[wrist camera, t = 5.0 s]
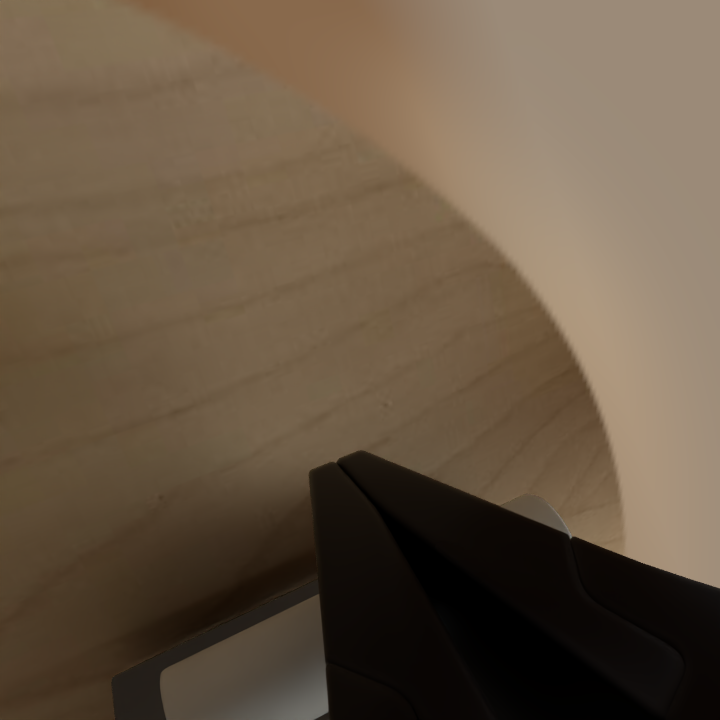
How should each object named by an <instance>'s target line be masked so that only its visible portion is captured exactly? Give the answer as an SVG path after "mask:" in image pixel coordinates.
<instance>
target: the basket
mask: <svg viewBox="0 0 720 720" xmlns="http://www.w3.org/2000/svg"><path fill="white" fill-rule="evenodd" d="M501 507H503V508H505V509H508V510H510V511H513V512H515V513H518V514H520V515H523V516H525V517H527V518H530V519H532V520H535V521H537V522H540V523H542V524H545V525H547V526H550V527H552V528H554V529H557V530H559V531H562V532H564V533H567V534H568V535H569V537H570V539H571V538H572V536H571V533H570V531H569V529H568V528H567V526H566V524H565V523H564V521H563V520H562V518H561V517H560V515H559V514H558V513H557V512H556V510H555V509H554V508H553V507H552V506H551V505H550V504H549V503H548V502H546V501H545V500H544V499H542V498H541V497H539V496H537V495H534V494H524V495H521V496H519V497H517V498H515V499H513V500H511V501H509V502H507V503H505V504H503V505H501ZM325 668H326V664H325V656H324V645H323V633H322V622H321V610H320V599H319V587H318V579H317V580H315V581H313V582H310V583H308V584H306V585H304V586H302V587H300V588H298V589H296V590H294V591H292V592H289V593H287V594H285V595H283V596H281V597H279V598H277V599H275V600H273V601H271V602H268V603H266V604H264V605H262V606H260V607H258V608H256V609H254V610H252V611H250V612H248V613H245V614H243V615H241V616H239V617H237V618H235V619H233V620H231V621H229V622H227V623H224V624H222V625H220V626H218V627H216V628H214V629H212V630H210V631H208V632H206V633H203V634H201V635H199V636H197V637H195V638H193V639H191V640H189V641H187V642H185V643H183V644H180V645H178V646H176V647H174V648H172V649H170V650H168V651H166V652H164V653H162V654H159V655H157V656H155V657H153V658H151V659H149V660H147V661H145V662H143V663H141V664H138V665H136V666H134V667H132V668H130V669H128V670H126V671H124V672H122V673H120V674H118V675H115V676H114V677H113V678H112V682H111V684H112V695H113V705H114V715H115V720H329V713H328V695H327V684H326V672H325Z"/></svg>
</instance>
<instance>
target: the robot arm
mask: <svg viewBox="0 0 720 720" xmlns="http://www.w3.org/2000/svg"><path fill="white" fill-rule="evenodd" d="M309 483H310V495H311V506H312V518H313V529H314V541H315V552H316V564H317V575H318V587H319V599H320V610H321V622H322V633H323V645H324V656H325V664H326V668H325V672H326V684H327V695H328V713H329V720H720V588H716V587H713V586H710V585H707V584H704V583H701V582H697V581H694V580H691V579H688V578H685V577H682V576H679V575H676V574H673V573H670V572H667V571H664V570H661V569H658V568H655V567H652V566H649V565H646V564H643V563H641V562H638V561H636V560H633V559H630V558H628V557H625V556H623V555H620V554H617V553H615V552H612V551H609V550H607V549H604V548H602V547H599V546H597V545H594V544H592V543H589V542H587V541H584V540H582V539H579V538H577V537H572V538H571V539H570V537H569V535H568V534H567V533H564V532H562V531H559V530H557V529H554V528H552V527H550V526H547V525H545V524H542V523H540V522H537V521H535V520H532V519H530V518H527V517H525V516H523V515H520V514H518V513H515V512H513V511H510V510H508V509H505V508H503V507H501V506H498V505H496V504H493V503H491V502H488V501H486V500H483V499H481V498H479V497H476V496H474V495H471V494H469V493H466V492H464V491H461V490H459V489H456V488H454V487H452V486H449V485H447V484H444V483H442V482H439V481H437V480H434V479H432V478H430V477H427V476H425V475H422V474H420V473H417V472H415V471H412V470H410V469H407V468H405V467H403V466H400V465H398V464H395V463H393V462H390V461H388V460H385V459H383V458H381V457H378V456H376V455H373V454H371V453H368V452H366V451H361V450H360V451H356V452H354V453H351V454H349V455H347V456H344V457H342V458H339V459H338V461H337V462H336V463H335V462H329V463H327V464H324V465H322V466H319V467H317V468H315V469H312V470H311V471H310V472H309Z"/></svg>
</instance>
